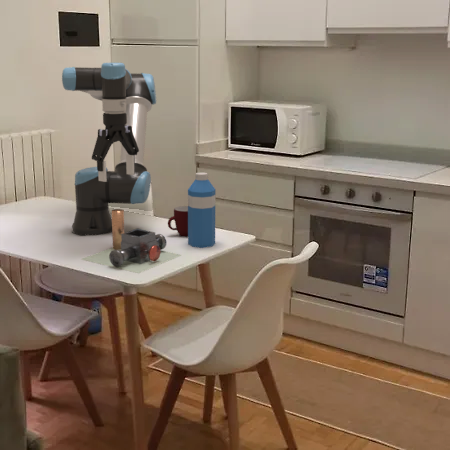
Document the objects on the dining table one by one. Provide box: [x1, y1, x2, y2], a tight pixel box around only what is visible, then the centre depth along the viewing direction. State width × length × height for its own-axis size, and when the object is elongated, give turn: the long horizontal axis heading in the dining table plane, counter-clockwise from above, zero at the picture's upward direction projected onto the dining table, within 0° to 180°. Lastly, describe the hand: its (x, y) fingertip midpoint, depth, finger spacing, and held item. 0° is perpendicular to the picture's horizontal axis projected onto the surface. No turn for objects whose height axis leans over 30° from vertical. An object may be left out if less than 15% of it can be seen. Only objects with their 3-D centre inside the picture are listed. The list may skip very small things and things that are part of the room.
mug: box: [167, 205, 188, 238], centre depth 246 cm, size 10×8×10 cm
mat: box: [80, 247, 182, 274], centre depth 222 cm, size 24×22×1 cm
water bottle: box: [187, 172, 217, 249], centre depth 234 cm, size 9×9×25 cm
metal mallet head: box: [109, 228, 167, 267], centre depth 219 cm, size 11×22×8 cm, turn 147°
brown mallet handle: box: [111, 208, 125, 250], centre depth 230 cm, size 4×4×13 cm
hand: (116, 177), depth 225 cm, fingers open, 13 cm apart
